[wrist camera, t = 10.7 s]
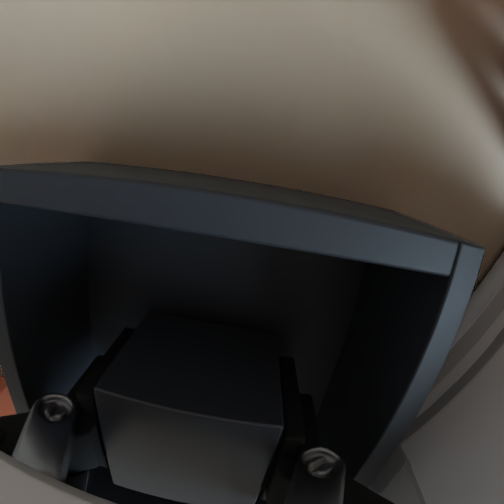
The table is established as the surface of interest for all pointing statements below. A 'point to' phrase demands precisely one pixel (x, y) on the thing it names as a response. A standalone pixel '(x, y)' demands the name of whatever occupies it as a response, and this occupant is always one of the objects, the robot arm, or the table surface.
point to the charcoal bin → (230, 290)
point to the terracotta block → (5, 400)
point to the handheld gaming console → (459, 416)
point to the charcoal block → (192, 410)
